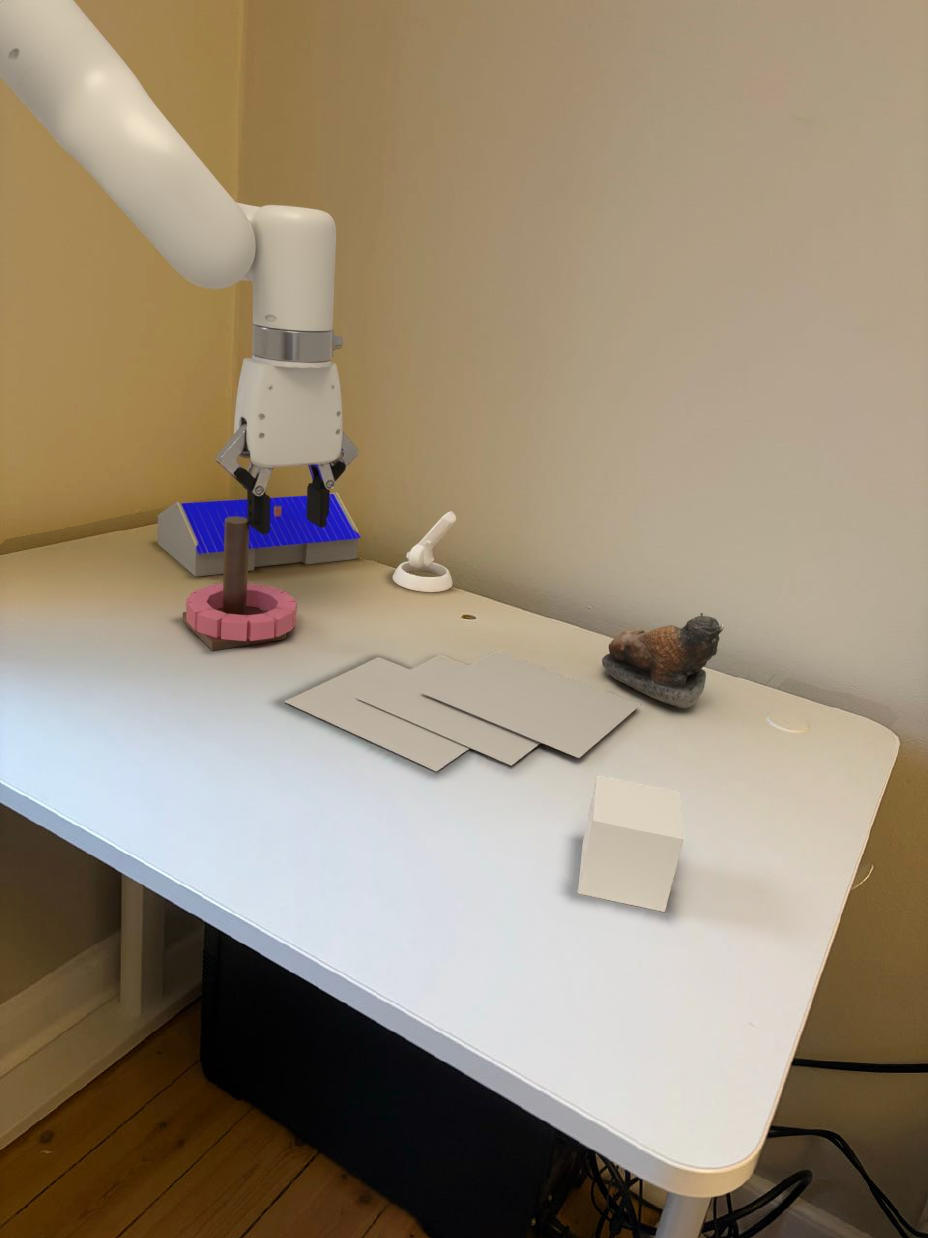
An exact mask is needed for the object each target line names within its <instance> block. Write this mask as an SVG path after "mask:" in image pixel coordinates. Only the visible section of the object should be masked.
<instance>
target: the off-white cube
mask: <svg viewBox="0 0 928 1238" xmlns="http://www.w3.org/2000/svg"><path fill="white" fill-rule="evenodd" d="M683 826H684V825H683V815H682V800H681V791H680V790H674V789H669V788H664V787H659V786H655V785H649V784H644V783H639V782H634V781H629V780H625V779H619V778H614V777H609V776H604V775H600V774H596V777H595V782H594V787H593V791H592V795H591V801H590V805H589V811H588V815H587V819H586V825H585V830H584V834H583V840H582V846H581V857H580V866H579V876H578V885H577V894H579V895H584V896H587V897H593V898H597V899H602V900H607V901H612V902H616V903H620V904H625V905H629V906H634V907H638V908H644V909H647V910H652V911H657V912H662V913H665V912H666V910H667V905H668V902H669V898H670V893H671V891H672V887H673V883H674V878H675V875H676V871H677V867H678V863H679V859H680V856H681V851H682V847H683V843H684V839H685V838H684V827H683Z"/></svg>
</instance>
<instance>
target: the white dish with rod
mask: <svg viewBox="0 0 928 1238" xmlns="http://www.w3.org/2000/svg"><path fill="white" fill-rule="evenodd" d="M456 521H457V516H456V514H455V513H454V512H453V511H451V510H450V511H448V512H446V513H445V514H443V515H442V516H441V517H440V519H438V520H437V521H436V523H435V524H434V525H433V526H432V527H431V529H429V531H428V532H427V533H426V534H425V535H424V536H423V538H422V539H421V540H420V541H419V542H418V543H416V544H415V545H414V546H413V547H412V548H411V549H410V551H407V553H406V556H405V557H406V559H407V560H408V561H404V562H401V563H400V564H399V565H398V566H397V567H396V569H395V570H394V573H393V575H392V581H393V583H395V584H396V585H398V586H400V587H403V588H405V589H408V590H411V591H415V592H416V591H417V592H422V593H437V592H444V591H447V590H449V589H451V588H452V587H453V584H454V583H453V578H452V576H451V572H450V570H449V569H448V568H447V567H446V566H444V565H442V564H440V563H437V562H434V561H435V558H434V552H433V549H434V547H435V546H436V545H437V544H438V543H439V541H441V539H442V538H443V537H444V536H445V535H446V534H447V533H448V532H449V531H450V529H451V528H452V527H453V526H454V525H455V524H456ZM410 572H419V573H420V572H421V573H429V574H433V575H437V576H421V575H416V574H413V573H410Z"/></svg>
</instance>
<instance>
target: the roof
mask: <svg viewBox="0 0 928 1238" xmlns="http://www.w3.org/2000/svg"><path fill="white" fill-rule="evenodd" d="M306 515H307V495H293V496H277V497H270V532H268V534H261V533H260V532H258V531H257V530H255V529H254V528H252V527H251V525H250V526H249V553H248V572H250V571H251V572H252V571H255V568H258V567H259V568H260V567H268V566H278V565H286V564H296V563H303V564H304V565H313V564H323V563H332V562H341V561H350V560H357V558H358V557H357V556H358V546H359V539H361V536H360V534H359V532H360V531H359V529H358V527H357V526H356V524H355V522H354V520H353V518H352V517H351V515H350V512H349V511H348V509H347V507H346V506H345V504H344V502H343V500H342V498H341V496H340V494H339V493H338V491H333V492H332V493H330V498H329V515H328V516H327V522H326V527H322V528H320V527H319V526H317V525H315V524H313V523H312V522H310V521H308V520H307V517H306ZM233 516H237V517H244V518H247V498H246V499H245V498H243V499H230V500H229V499H228V500H213V501H196V502H195V501H194V502H181V501H174V502H173V503H172V504H171V505H170V506H169V507H167V508H166V509H164V510H163V511H161V512H160V513H159V514H158V515H157V517H156V520H157V545H158V546H159V547H161V548H162V549H163V550H164V551H165V552H166V553H167V554H169V555H170V557H172V558H173V559H175V560H176V561H177V562H178V563H179V564H180V565H181V566H182V567H184V568H185V569H186V570H187V571H188V572H189V573H190V574H192V576H194V577H195V578H196V577H197V578H198V577H206V576H214V575H223V571H224V534H225V519H226V518H227V517H233Z"/></svg>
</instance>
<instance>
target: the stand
mask: <svg viewBox="0 0 928 1238" xmlns="http://www.w3.org/2000/svg"><path fill="white" fill-rule="evenodd" d="M249 526H250V521H249V519H247V518H244V517H237V516H233V517H227V518H226V519H225V534H224V571H223V574H222V575H223V576H222V577H223V578H222V584H223V607H221V608H219V609H217V610H218V611H221V612H224V613H227V614H237V615H255V614H264V613H265V611H264V610H263V609H260V608H257V607H248V606H247V583H248V580H249V579H248V578H249V577H248V576H249V571H248V553H249ZM181 619H182V622H183V623H184V624H185V625H186V626H187V627H188V629H190V630H191V631H192V632H193V633H194V634H195V635H196V636H197V637H198V639H200V640H201V642H203V643H204V644H205V645H206V646H207V647H208V649H210V650H211V652H213V651H220V650H226V649H232V648H239V647H245V646H252V645H256V644H264V643H270V642H277V641H283V640H286V639H287V633H285V634H283V635H281V636H279V637H276V636H274V638H270V639H262V640H255V641H250V640H249V639H248V638H247V640H246V641H237V640H225V639H221V636H220V637H218V638H214V637H212V636H209V635H206V634H203V633H200V632H197V630H194V629H193V628H192V626H191V625H190V624H189V623H188V622H187V621H186V611H183V612H182V618H181Z"/></svg>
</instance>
